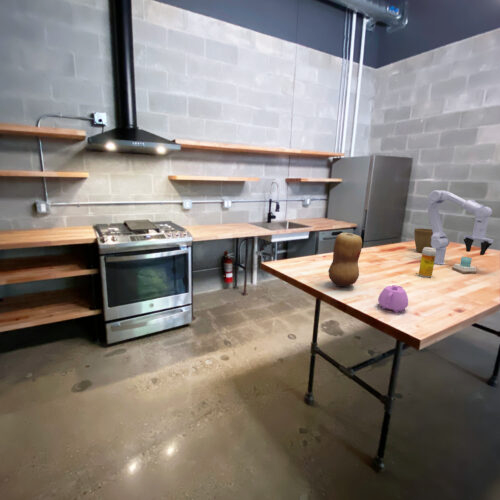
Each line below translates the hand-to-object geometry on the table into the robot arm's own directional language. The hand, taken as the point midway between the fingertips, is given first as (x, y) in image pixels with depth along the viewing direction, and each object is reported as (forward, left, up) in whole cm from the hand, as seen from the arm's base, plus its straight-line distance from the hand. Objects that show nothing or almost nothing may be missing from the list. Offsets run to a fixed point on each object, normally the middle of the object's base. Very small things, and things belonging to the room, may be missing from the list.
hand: (474, 253), depth 165 cm
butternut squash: (-60, -62, -11) cm, 87 cm away
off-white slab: (-4, -4, -9) cm, 11 cm away
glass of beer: (-24, -24, -11) cm, 36 cm away
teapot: (-38, -77, -11) cm, 87 cm away
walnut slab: (-4, -4, -11) cm, 13 cm away
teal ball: (-4, -4, -7) cm, 9 cm away
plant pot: (-22, +37, -11) cm, 44 cm away
